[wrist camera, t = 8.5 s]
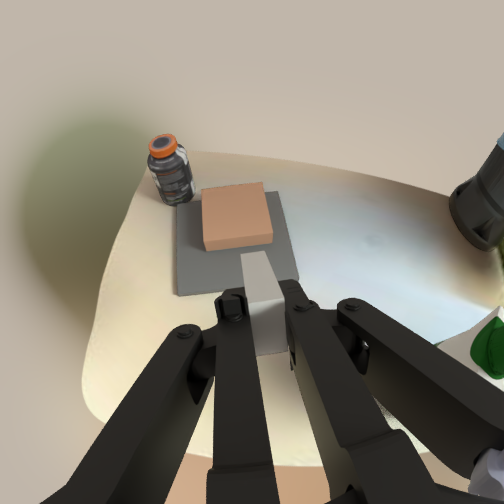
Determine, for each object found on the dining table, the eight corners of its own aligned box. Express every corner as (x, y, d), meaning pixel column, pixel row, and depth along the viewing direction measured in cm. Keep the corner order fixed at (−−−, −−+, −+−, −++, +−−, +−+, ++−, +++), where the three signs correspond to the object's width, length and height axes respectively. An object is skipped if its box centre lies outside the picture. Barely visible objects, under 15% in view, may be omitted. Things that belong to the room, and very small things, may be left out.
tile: (272, 244, 38) (261, 195, 42) (273, 232, 35) (262, 182, 40) (207, 252, 37) (204, 202, 42) (203, 241, 35) (201, 189, 39)
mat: (277, 194, 43) (277, 191, 43) (298, 280, 36) (299, 278, 35) (178, 207, 42) (176, 204, 42) (179, 296, 35) (177, 294, 35)
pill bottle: (201, 183, 45) (189, 130, 35) (187, 210, 42) (170, 157, 32) (170, 178, 46) (154, 128, 36) (155, 204, 43) (133, 154, 33)
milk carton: (408, 341, 31) (513, 286, 14) (446, 376, 28) (553, 342, 11) (373, 393, 28) (484, 380, 11) (415, 427, 25) (527, 429, 8)
